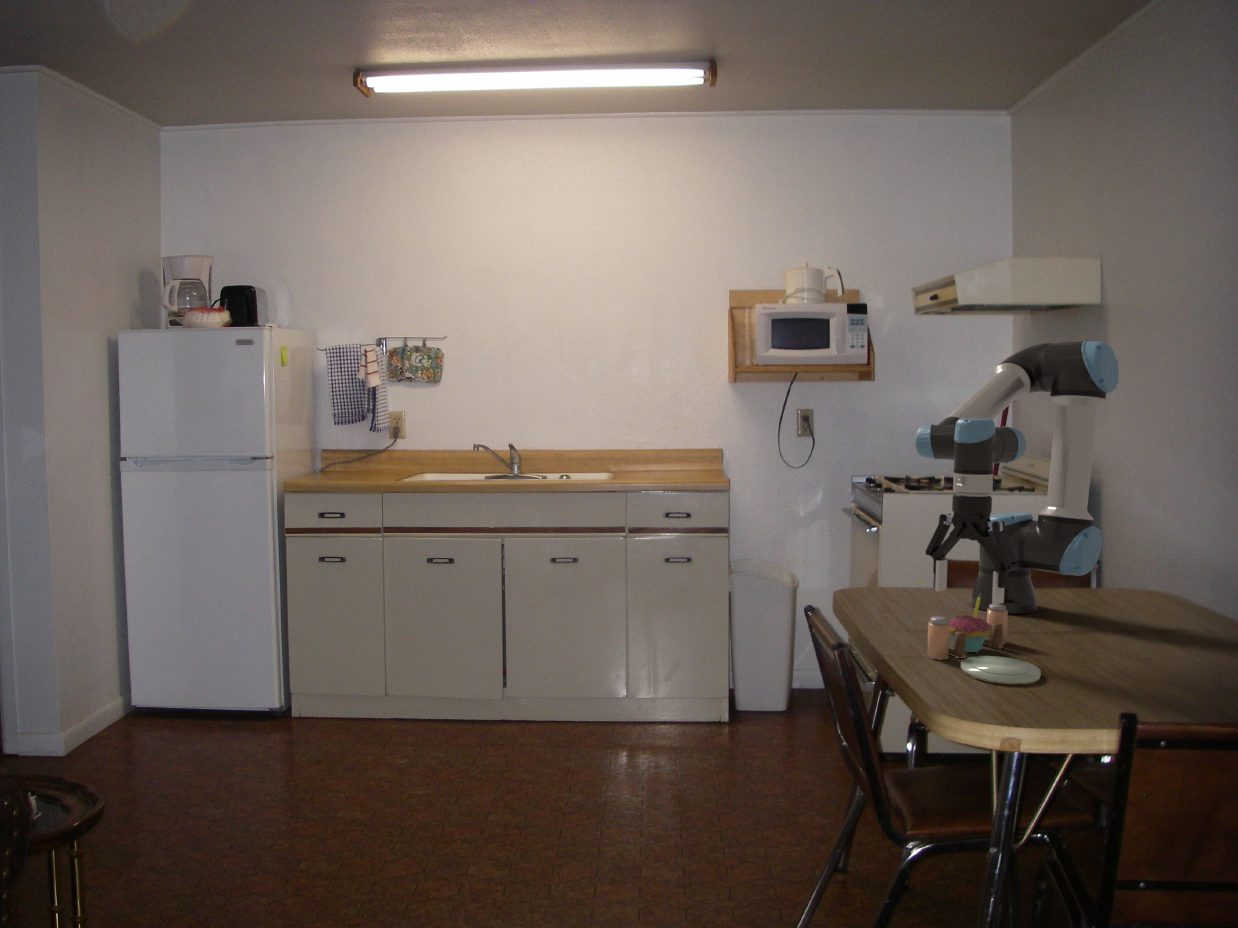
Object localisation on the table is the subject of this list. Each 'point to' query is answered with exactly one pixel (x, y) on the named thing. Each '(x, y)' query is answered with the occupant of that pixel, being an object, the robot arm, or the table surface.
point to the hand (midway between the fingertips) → (968, 596)
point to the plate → (1001, 669)
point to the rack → (994, 643)
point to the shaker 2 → (998, 619)
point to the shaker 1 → (938, 637)
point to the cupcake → (971, 629)
